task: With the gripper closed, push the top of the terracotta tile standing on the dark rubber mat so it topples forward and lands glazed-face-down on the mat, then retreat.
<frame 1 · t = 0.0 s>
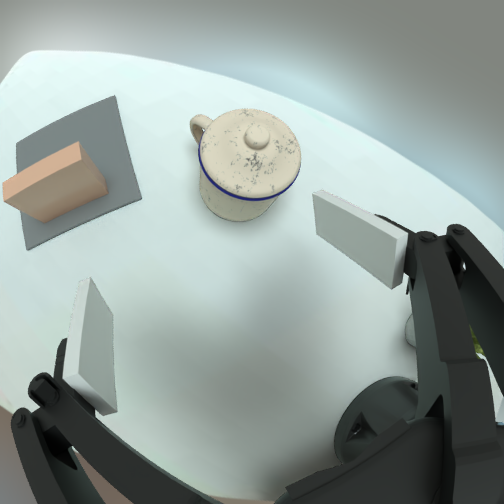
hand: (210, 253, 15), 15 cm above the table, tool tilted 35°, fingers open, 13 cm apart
mat: (68, 166, 29), on the table
house plant: (412, 336, 34), on the table
teacup with lid: (228, 178, 32), on the table
tile: (73, 200, 28), resting on mat
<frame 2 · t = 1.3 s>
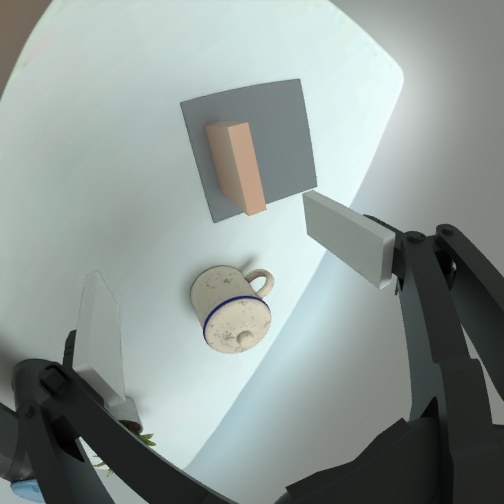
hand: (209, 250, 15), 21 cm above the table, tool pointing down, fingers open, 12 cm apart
mat: (256, 146, 35), on the table
house plant: (115, 399, 45), on the table
teacup with lid: (225, 283, 43), on the table
tile: (220, 157, 34), resting on mat
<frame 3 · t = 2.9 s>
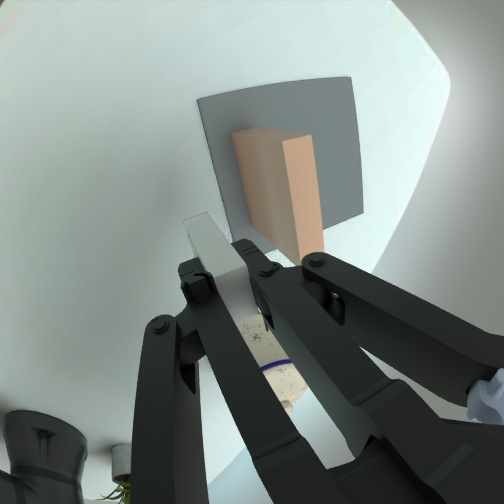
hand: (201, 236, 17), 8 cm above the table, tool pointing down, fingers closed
mat: (297, 163, 27), on the table
house plant: (119, 447, 36), on the table
teacup with lid: (249, 330, 34), on the table
tile: (251, 178, 25), resting on mat
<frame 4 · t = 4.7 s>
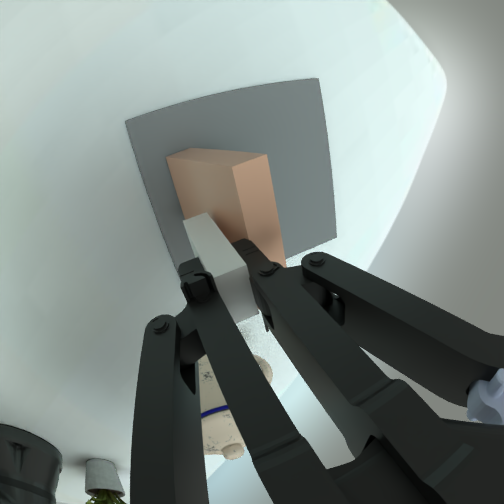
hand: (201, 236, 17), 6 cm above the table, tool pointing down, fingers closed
mat: (249, 185, 23), on the table
house plant: (93, 461, 33), on the table
teacup with lid: (208, 362, 31), on the table
tile: (194, 207, 22), point 1 cm above the table, tilted 14°, touching mat
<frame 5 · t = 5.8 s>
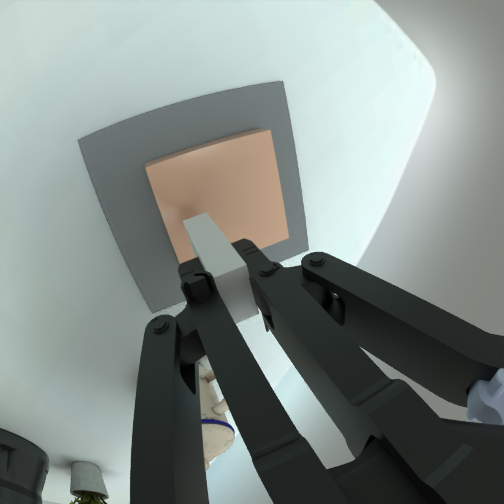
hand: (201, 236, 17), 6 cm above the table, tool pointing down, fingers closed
mat: (208, 199, 22), on the table
house plant: (79, 463, 32), on the table
teacup with lid: (180, 374, 30), on the table
tile: (164, 222, 20), point 1 cm above the table, tilted 90°, touching mat
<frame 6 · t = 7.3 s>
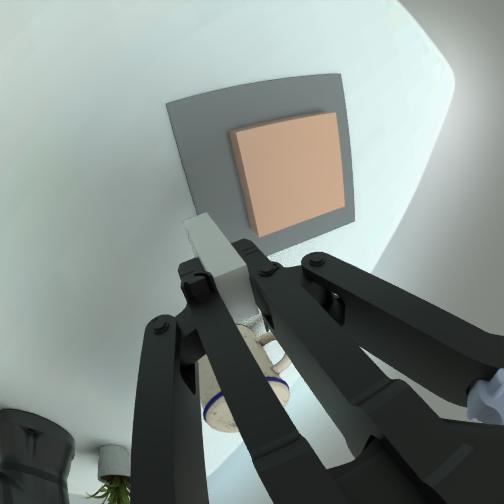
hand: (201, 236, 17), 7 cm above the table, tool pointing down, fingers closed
mat: (278, 168, 25), on the table
house plant: (106, 447, 35), on the table
teacup with lid: (231, 341, 33), on the table
tile: (244, 185, 23), point 1 cm above the table, tilted 90°, touching mat
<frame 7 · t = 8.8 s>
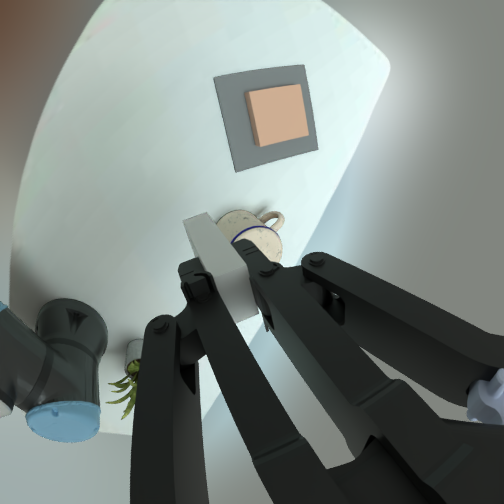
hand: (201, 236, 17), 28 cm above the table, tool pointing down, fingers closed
mat: (270, 114, 43), on the table
house plant: (134, 344, 53), on the table
teacup with lid: (242, 226, 51), on the table
tile: (252, 119, 41), point 1 cm above the table, tilted 90°, touching mat
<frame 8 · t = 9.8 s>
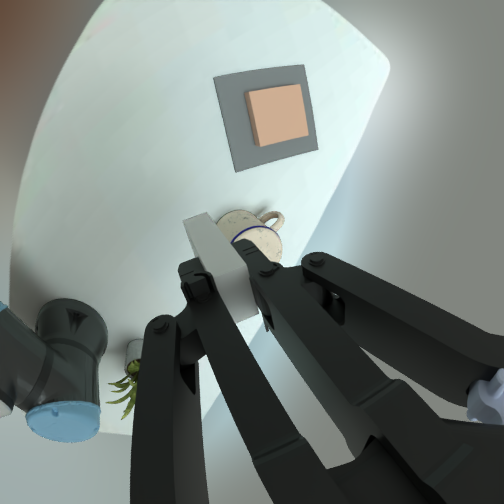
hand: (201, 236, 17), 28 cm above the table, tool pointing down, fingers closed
mat: (270, 114, 43), on the table
house plant: (134, 344, 53), on the table
teacup with lid: (242, 226, 51), on the table
tile: (252, 119, 41), point 1 cm above the table, tilted 90°, touching mat
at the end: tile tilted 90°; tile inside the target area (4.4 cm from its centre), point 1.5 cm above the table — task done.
